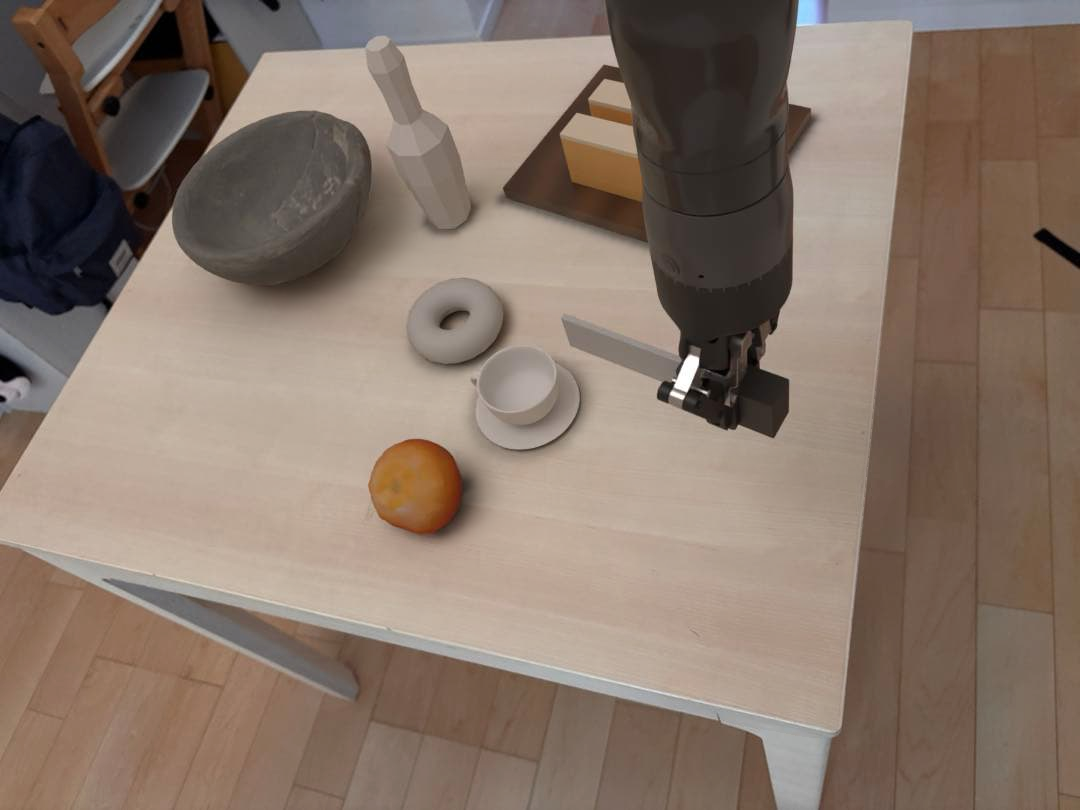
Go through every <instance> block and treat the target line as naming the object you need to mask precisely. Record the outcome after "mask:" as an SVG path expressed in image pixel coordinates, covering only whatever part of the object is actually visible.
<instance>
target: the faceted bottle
mask: <svg viewBox="0 0 1080 810" xmlns="http://www.w3.org/2000/svg"><path fill="white" fill-rule="evenodd" d="M364 49H365V56H366V65H367V70H368V72H369V73H370V75H371V77H372V79H373V80H374V82H375V84H376V85H377V88H378V89H379V90H380V92H381V94H382V96H383V98H384V101H385V103H386V105H387V108H388V110H389V112H390V114H391V116H392V118H393V123H392V126H391V128H390V132H389V135H388V139H387V141H386V149H387V151H388V153H389V154H390V157H391V159H392V162H393V163H394V166H395V167H396V170H397V171H398V174H399V176H400V177H401V179H402V180H403V182H404V183H405V185H406V187H407V188H408V190H409V191H410V192H411V194H412V196H413V197H414V199H415V200H416V202H417V204H418V205H419V207H420V208H421V209H422V211H423V213H424V214H425V216H426V217H427V219H428V220H429V222H431V224H433V225H434V226H435V227H436V228H437V229H439V230H455V229H456V228H458V227H459V226H460V225H462V224H464V223H465V222H466V221H467V220H468V217H469V215H470V212H471V210H472V204H471V199H470V196H469V191H468V186H467V182H466V177H465V173H464V169H463V164H462V160H461V156H460V153H459V150H458V147H457V146H456V142H455V140H454V137H453V135H452V132H451V130H450V126H449V125H448V124H447V123H445V122H444V121H443V120H442V119H441V118H439V117H438V116H437V115H435V114H434V113H431V112H430V111H427V110H425V109H424V108H422V104H421V102H420V100H419V97H418V96H417V95H418V94H417V92H416V90H415V88H414V85H413V82H412V79H411V76H410V72H409V68H408V64H407V62H406V58H405V55H404V54H403V53H402V52H401V51H400V49H399V48H398V47H397V46H396V45H395V43H394V41H392V39H390V37H388V36H387V35H376V36H374V37H373V38H371V39H370V40H368V42H367V43H366V46H365V48H364Z"/></svg>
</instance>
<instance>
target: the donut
mask: <svg viewBox="0 0 1080 810" xmlns="http://www.w3.org/2000/svg"><path fill="white" fill-rule="evenodd" d="M461 311H462V312H463V311H464V312H467V313H469V317H468V319H466V321H465V322H464V323H463V324H461V325H460V326H458V327H456V328H452V329H443V328H441V324H442V322H443V320H444V319H445V318H446V317H448V316H449V315H450V314H453V313H455V312H461ZM503 320H504V308H503V305H502V301H501V298H500V297H499V296H498V294H497V293H496V291H495V290H494V289H493V288H492V287H491V286H490V285H488V284H487V283H484V282H482V281H481V280H478V279H475V278H469V277H455V278H449V279H446V280H443V281H440V282H437V283H435V284H434V285H432V286H430V287H429V288H427V289H425V290H424V291H423V292H422V293H421V294H420V296H418V297H417V298H416V300H415V301H414V302H413V304H412V306H411V308H410V309H409V310H408V315H407V320H406V328H405V329H406V333H407V337H408V342H409V343H410V345H411V346H412V348H413V349H414V351H415V352H416V353H418V354H419V355H420V356H422V357H423V358H424V359H426V360H427V361H430V362H434V363H439V364H443V365H447V364H459V363H462V362H463V363H464V362H465V361H469V360H472V359H474V358H476V357H477V356H480V355H481V354H483V352H485V351H487V349H489V347H490V346H491V345H493V343H494V342H495V341H496V339H497V337H498V335H499V334H500V331H501V330H502V326H503Z"/></svg>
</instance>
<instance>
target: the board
mask: <svg viewBox="0 0 1080 810" xmlns="http://www.w3.org/2000/svg"><path fill="white" fill-rule="evenodd" d="M604 79H608V80H612V81H617V82H621V83H624V82H623V78H622V75H621V72H620V69H619V66H613V65H610V64H609V65H608V64H603V65H601V67H600V69H599V70H598V71H597V72H596V74H594V76H593V77H592V78H591V79H590V80H589V82H588V83H587V84H586V85H585V87H584V88H583V89H582V90H581V92H580V93H579V94H578V95H577V97H575V99H574V100H573V101H572V103H571V104H569V106H568V107H567V109H566V110H565V111H564V112H563V114H562V115H561V116H560V117H559V118H558V120H557V121H556V122H555V123H554V125H553V126H551V128H550V129H549V131H548V132H547V133H546V135H544V136H543V138H542V139H541V140H540V142H539V143H538V144H537V146H536V147H535V148H534V149H533V150H532V151H531V152H530V154H529V155H528V156H527V157H526V158H525V160H524V161H523V162H522V163H521V165H520V166H519V167H518V169H516V170H515V172H514V173H513V175H511V177H510V178H509V180H508V181H507V182H506V183H505V184H504V186H503V187H502V190H503V191H502V192H503V193H504V196H505V198H506V199H508V200H512V201H515V202H519V203H521V204H525V205H528V206H531V207H534V208H537V209H540V210H544V211H547V212H551V213H553V214H557V215H560V216H562V217H566V218H568V219H573V220H576V221H579V222H581V223H585V224H588V225H592V226H595V227H598V228H601V229H604V230H608V231H611V232H614V233H617V234H620V235H624V236H627V237H629V238H633V239H636V240H639V241H643V242H646V243H648V239H647V234H646V228H645V223H644V216H643V208H642V202H640V201H636V200H633V199H629V198H626V197H623V196H619V195H616V194H612V193H609V192H605V191H602V190H598V189H595V188H592V187H588V186H585V185H581V184H578V183H574V182H572V181H571V177H570V173H569V169H568V165H567V161H566V157H565V153H564V149H563V145H562V141H561V137H560V133H561V132H562V130H563V129H564V128H565V127H566V125H567V124H568V123H569V122H570V121H571V119H572V118H573V117H574V116H575V114H576V113H580V114H584V115H588V116H591V111H590V107H589V101H588V98H589V97H590V96H591V95H592V93H593V92H594V91H595V90H596V88H597V87H598V86H599V85H600V84H601V82H602V81H603V80H604ZM811 118H812V108H811V107H807V106H802V105H797V104H792V103H789V141H788V154H790V152H791V150H792V149H793V147H794V146H795V144H796V143H797V141H798V140H799V138H800V137H801V135H802V133H803V132H804V130H805V129H806V127H807V126H808V125H809V123H810V121H811V120H812V119H811Z"/></svg>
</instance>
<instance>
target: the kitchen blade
mask: <svg viewBox="0 0 1080 810" xmlns="http://www.w3.org/2000/svg"><path fill="white" fill-rule="evenodd" d="M560 320H561V322H562V325H563V328H564V332H565V334H566V337H567V340H568V344H569V346H570V347H572V348H574V349H577V350H580V351H582V352H585V353H587V354H589V355H592V356H595V357H598V358H600V359H603V360H605V361H608V362H610V363H612V364H615V365H618V366H620V367H622V368H626V369H627V370H630V371H633V372H636V373H638V374H641V375H643V376H646V377H649V378H651V379H653V380H656V381H659V382H661V383H662V382H663V381H668V382H671V380H672V378H673V377H677V378H678V375H679V373H680V370H681V368H682V366H683V363H684V361H682V359H681V358H680V356H679V355H677V354H675V353H672V352H669V351H667V350H663V349H661V348H658V347H657V346H656V347H655V346H653V345H650V344H648V343H645V342H642V341H640V340H637V339H635V338H632V337H629V336H626V335H624V334H621V333H618V332H615V331H613V330H611V329H607V328H605V327H602V326H600V325H596V324H594V323H592V322H588V321H586V320H583V319H580V318H577V317H575V316H573V315H569V314H567V313H563V314H562V316H561V317H560ZM738 395H739V408H740V423H739V425H738V426H741V427H743V428H746V429H748V430H750V431H753V432H756V433H758V434H760V435H763V436H765V437H768V438H771V439H775V438H776V436H777V434H778V433H779V431H780V429H781V427H782V425H783V424H784V422H785V420H786V419H787V417H788V415H789V413H790V379H789V378H787V377H784V376H781V375H779V374H776V373H774V372H771V371H768V370H765V369H763V368H761V367H760V368H757V367H754V366H751V365H749V364H747V372H746V374H745V376H744V377H743V379H742V380H741V382H740V383H739V392H738Z"/></svg>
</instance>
